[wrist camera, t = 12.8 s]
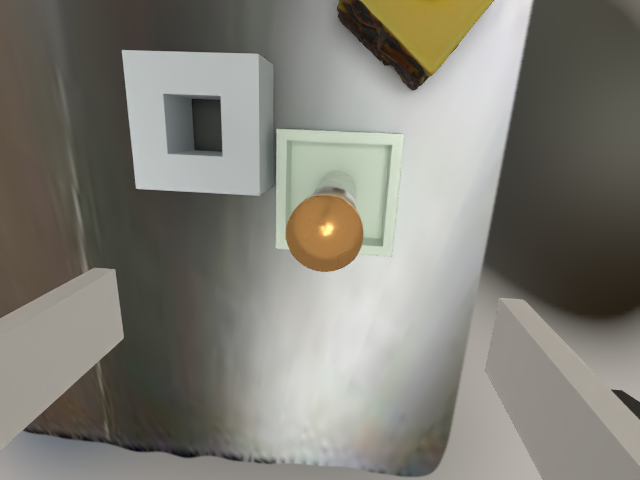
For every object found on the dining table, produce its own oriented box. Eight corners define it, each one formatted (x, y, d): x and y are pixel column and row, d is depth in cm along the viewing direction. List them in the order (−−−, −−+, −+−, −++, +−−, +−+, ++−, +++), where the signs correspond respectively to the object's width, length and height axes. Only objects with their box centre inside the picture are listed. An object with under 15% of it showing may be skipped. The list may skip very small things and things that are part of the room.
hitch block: (157, 61, 38) (121, 50, 32) (273, 65, 37) (258, 53, 31) (166, 180, 42) (136, 188, 36) (273, 186, 41) (259, 195, 35)
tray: (282, 128, 39) (276, 128, 36) (400, 133, 38) (404, 134, 35) (281, 239, 42) (275, 248, 39) (389, 246, 41) (391, 256, 38)
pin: (315, 166, 39) (286, 194, 23) (362, 168, 39) (366, 198, 22) (314, 211, 40) (285, 268, 24) (358, 214, 40) (360, 274, 24)
